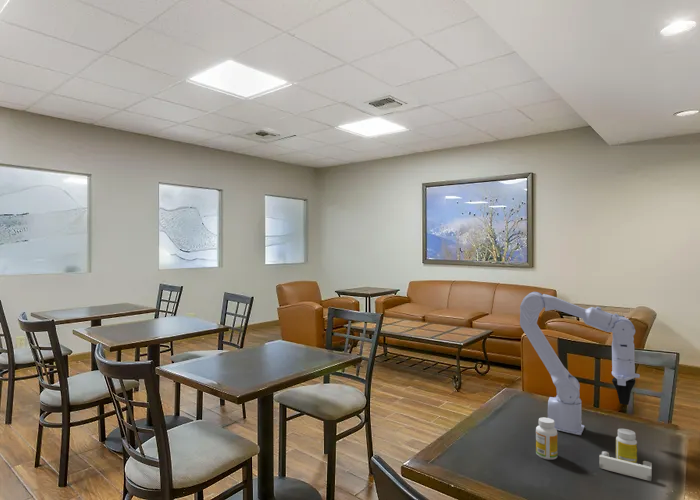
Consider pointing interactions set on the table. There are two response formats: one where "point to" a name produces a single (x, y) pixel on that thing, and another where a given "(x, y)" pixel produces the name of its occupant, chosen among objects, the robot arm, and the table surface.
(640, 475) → the drawer handle
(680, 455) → the table surface
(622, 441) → the supplement bottle
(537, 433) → the supplement bottle
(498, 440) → the table surface
